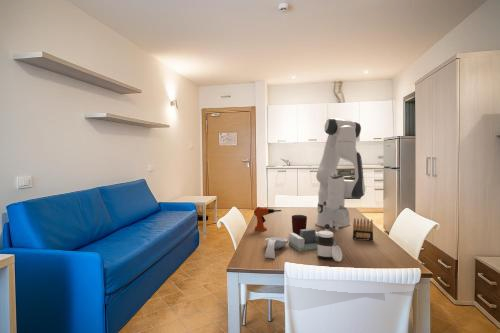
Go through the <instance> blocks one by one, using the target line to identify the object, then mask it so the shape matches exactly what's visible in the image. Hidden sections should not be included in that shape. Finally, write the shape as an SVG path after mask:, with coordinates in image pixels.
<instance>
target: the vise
mask: <svg viewBox="0 0 500 333" xmlns="http://www.w3.org/2000/svg"><path fill="white" fill-rule="evenodd" d="M288 236H289V239H288V240H289V241H288V245H290V246H291V247H292V248H294V249H296V250H297V252H301V251H308V250H315V249H316V250H317V243H316V242H315V243H310V244H304V238H302V237H300V236H299V235H297V234H295V233H293V232H289V234H288ZM334 246H337V242H335V241H334Z"/></svg>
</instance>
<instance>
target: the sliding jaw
mask: <svg viewBox="0 0 500 333" xmlns="http://www.w3.org/2000/svg"><path fill="white" fill-rule="evenodd" d="M323 228H324V231H330V228H331V227H330V225H329V224H325V225H324V227H323ZM318 232H319V231H316V230H315V242H316V243H317V240H318V236H319V235H318Z"/></svg>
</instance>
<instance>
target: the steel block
mask: <svg viewBox="0 0 500 333" xmlns="http://www.w3.org/2000/svg"><path fill="white" fill-rule="evenodd" d="M315 231H316V229H315V228H306V229H301V230H300V237H302V238H304V244H310V243H315Z"/></svg>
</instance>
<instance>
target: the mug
mask: <svg viewBox="0 0 500 333" xmlns="http://www.w3.org/2000/svg"><path fill="white" fill-rule="evenodd" d="M307 222H308V216H307V215H303V214H294V215H292V216H291V229H292V233H295V234H297V235H299V236H300V230H301V229H307Z"/></svg>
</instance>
